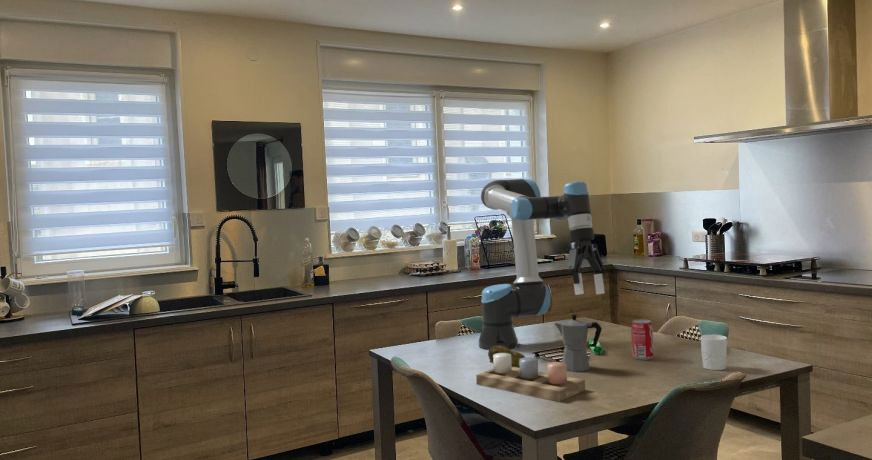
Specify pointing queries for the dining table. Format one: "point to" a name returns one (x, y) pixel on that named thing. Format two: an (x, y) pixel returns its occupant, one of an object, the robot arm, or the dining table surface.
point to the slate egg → (528, 367)
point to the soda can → (642, 339)
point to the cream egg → (502, 363)
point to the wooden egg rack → (531, 384)
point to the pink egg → (557, 372)
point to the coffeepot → (577, 342)
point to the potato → (501, 349)
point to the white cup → (714, 351)
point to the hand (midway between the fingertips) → (590, 294)
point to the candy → (598, 347)
